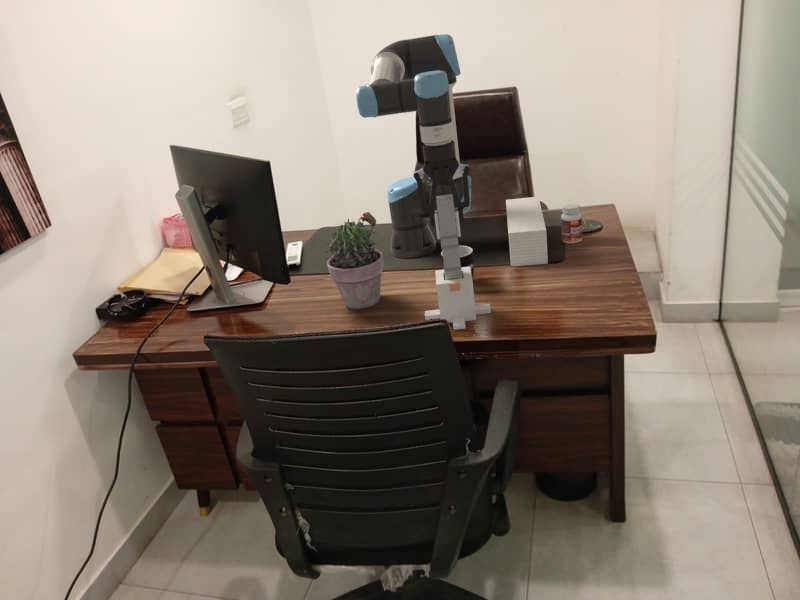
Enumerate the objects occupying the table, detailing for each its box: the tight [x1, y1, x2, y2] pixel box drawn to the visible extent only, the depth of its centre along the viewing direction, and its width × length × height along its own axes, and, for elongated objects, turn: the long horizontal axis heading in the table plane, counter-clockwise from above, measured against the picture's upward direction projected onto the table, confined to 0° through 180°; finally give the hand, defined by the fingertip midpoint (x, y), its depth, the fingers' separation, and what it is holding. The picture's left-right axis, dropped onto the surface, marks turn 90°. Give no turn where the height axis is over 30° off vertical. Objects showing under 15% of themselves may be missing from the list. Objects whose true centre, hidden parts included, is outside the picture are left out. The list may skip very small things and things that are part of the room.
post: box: [436, 194, 462, 280], centre depth 166 cm, size 4×4×24 cm
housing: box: [424, 266, 492, 331], centre depth 172 cm, size 17×17×11 cm
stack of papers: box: [505, 196, 549, 267], centre depth 208 cm, size 32×11×11 cm, turn 173°
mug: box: [440, 245, 475, 281], centre depth 190 cm, size 12×9×10 cm
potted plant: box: [320, 211, 387, 310], centre depth 184 cm, size 18×20×25 cm
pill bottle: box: [560, 202, 583, 245], centre depth 207 cm, size 6×6×11 cm
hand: (448, 235), depth 165 cm, fingers closed on post, 4 cm apart
